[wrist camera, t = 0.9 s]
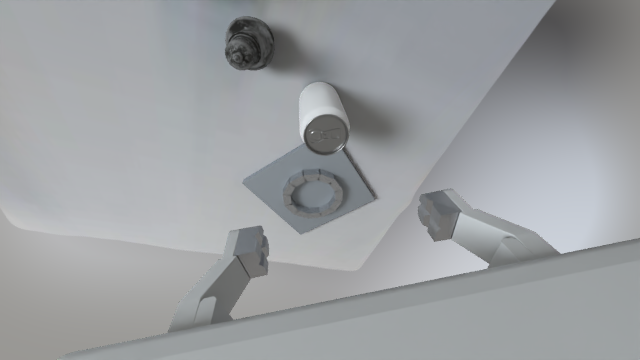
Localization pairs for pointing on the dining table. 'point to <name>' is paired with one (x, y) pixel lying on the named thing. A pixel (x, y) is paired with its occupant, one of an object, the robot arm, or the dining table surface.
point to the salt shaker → (249, 44)
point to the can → (322, 119)
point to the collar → (312, 176)
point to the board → (309, 186)
